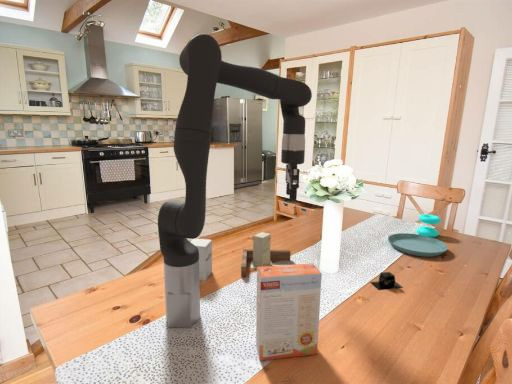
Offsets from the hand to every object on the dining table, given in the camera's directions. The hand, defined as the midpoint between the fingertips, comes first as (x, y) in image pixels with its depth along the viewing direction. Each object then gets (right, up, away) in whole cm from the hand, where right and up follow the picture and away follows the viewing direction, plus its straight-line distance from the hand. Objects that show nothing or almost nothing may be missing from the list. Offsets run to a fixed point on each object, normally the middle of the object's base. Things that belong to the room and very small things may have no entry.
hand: (291, 197), depth 101 cm
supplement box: (-32, -28, +8) cm, 44 cm away
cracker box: (-5, -36, -28) cm, 46 cm away
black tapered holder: (+34, -31, +4) cm, 46 cm away
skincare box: (-10, -27, +17) cm, 33 cm away
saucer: (+62, -24, +38) cm, 77 cm away
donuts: (+78, -21, +57) cm, 98 cm away
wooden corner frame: (-7, -27, +15) cm, 32 cm away
